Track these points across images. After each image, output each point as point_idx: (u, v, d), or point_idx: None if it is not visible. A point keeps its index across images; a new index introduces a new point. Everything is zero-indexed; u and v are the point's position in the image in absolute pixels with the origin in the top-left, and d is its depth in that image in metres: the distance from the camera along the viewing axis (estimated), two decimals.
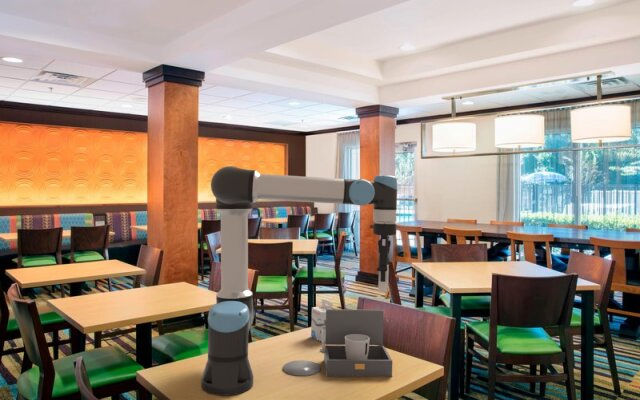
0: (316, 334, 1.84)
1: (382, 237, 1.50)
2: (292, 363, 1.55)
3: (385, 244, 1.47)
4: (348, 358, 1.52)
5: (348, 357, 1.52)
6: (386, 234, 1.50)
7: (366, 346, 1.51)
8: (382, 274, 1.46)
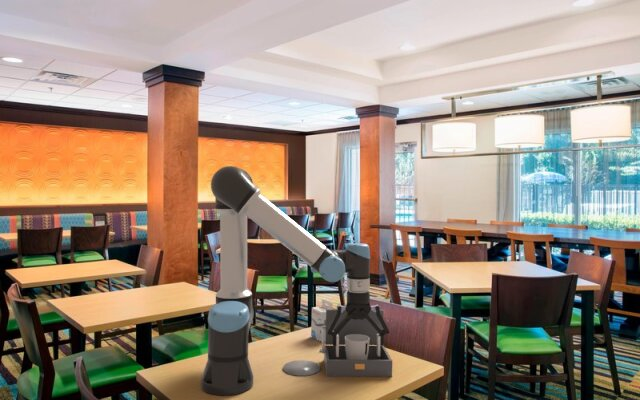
0: (316, 334, 1.84)
1: (346, 304, 1.54)
2: (292, 363, 1.55)
3: (337, 310, 1.53)
4: (348, 358, 1.52)
5: (348, 357, 1.52)
6: (347, 301, 1.53)
7: (366, 346, 1.51)
8: None
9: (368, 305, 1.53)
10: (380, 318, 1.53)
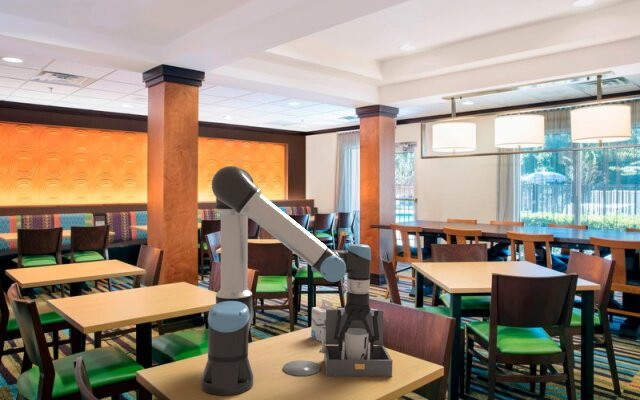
0: (316, 334, 1.84)
1: (346, 304, 1.54)
2: (292, 363, 1.55)
3: (337, 314, 1.53)
4: (347, 352, 1.52)
5: (347, 351, 1.52)
6: (346, 302, 1.53)
7: (365, 340, 1.51)
8: None
9: (367, 306, 1.53)
10: (375, 323, 1.53)
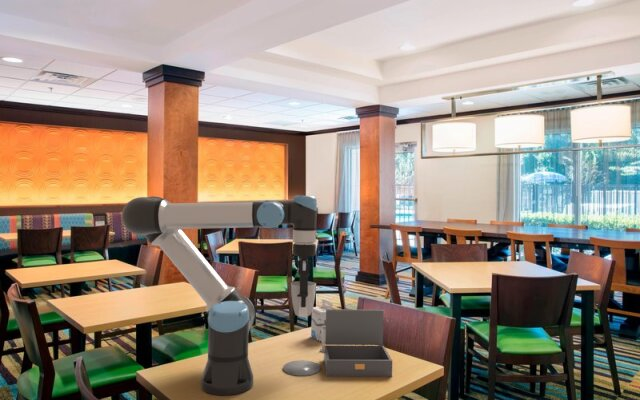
0: (316, 334, 1.84)
1: (302, 258, 1.48)
2: (292, 363, 1.55)
3: (305, 269, 1.46)
4: (308, 305, 1.49)
5: (309, 303, 1.49)
6: (306, 255, 1.48)
7: None
8: (303, 300, 1.47)
9: None
10: None
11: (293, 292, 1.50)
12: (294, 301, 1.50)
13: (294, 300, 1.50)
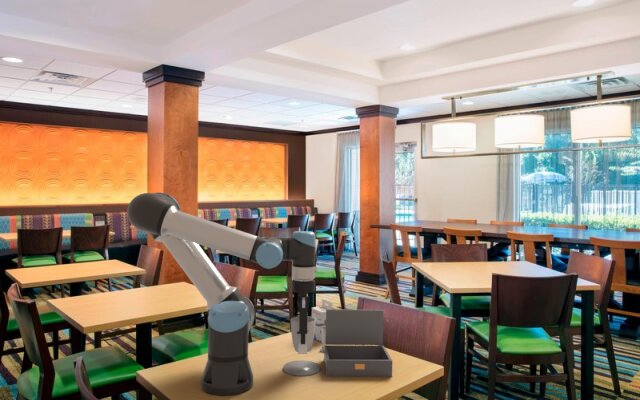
0: (316, 334, 1.84)
1: (301, 295, 1.48)
2: (292, 363, 1.55)
3: (305, 307, 1.46)
4: (308, 341, 1.50)
5: (308, 340, 1.49)
6: (305, 292, 1.49)
7: None
8: (302, 337, 1.47)
9: None
10: None
11: (293, 328, 1.50)
12: (294, 337, 1.50)
13: (294, 336, 1.50)
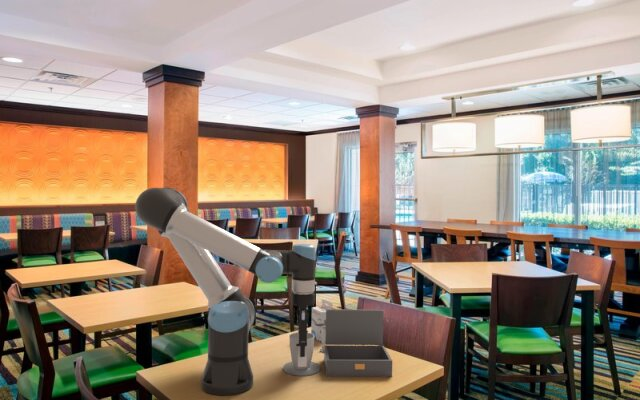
0: (316, 334, 1.84)
1: (301, 308, 1.48)
2: (292, 363, 1.55)
3: (304, 318, 1.46)
4: (307, 358, 1.50)
5: (307, 357, 1.50)
6: (305, 305, 1.49)
7: None
8: (302, 349, 1.45)
9: None
10: None
11: (291, 345, 1.50)
12: (293, 354, 1.50)
13: (293, 353, 1.50)
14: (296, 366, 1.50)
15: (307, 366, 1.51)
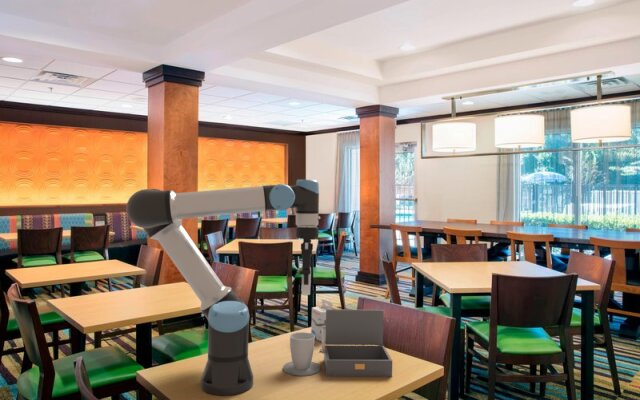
0: (316, 334, 1.84)
1: (305, 240, 1.52)
2: (292, 363, 1.55)
3: (308, 247, 1.49)
4: (307, 358, 1.50)
5: (307, 357, 1.50)
6: (309, 237, 1.52)
7: None
8: (305, 277, 1.47)
9: None
10: None
11: (292, 345, 1.50)
12: (293, 354, 1.50)
13: (293, 353, 1.50)
14: (296, 366, 1.50)
15: (307, 366, 1.51)
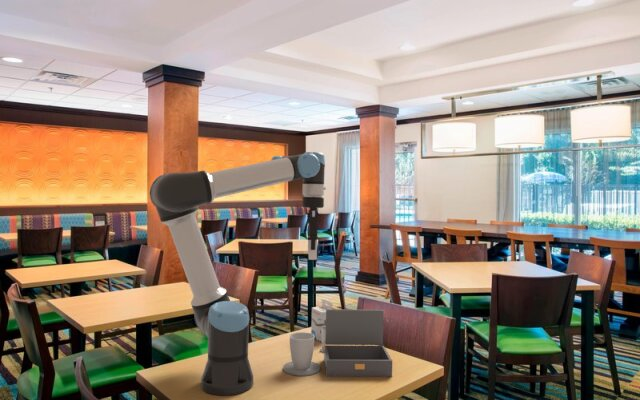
0: (316, 334, 1.84)
1: (311, 209, 1.61)
2: (292, 363, 1.55)
3: (315, 215, 1.58)
4: (307, 358, 1.50)
5: (307, 357, 1.50)
6: (315, 206, 1.61)
7: None
8: (312, 243, 1.57)
9: None
10: None
11: (291, 345, 1.50)
12: (293, 354, 1.50)
13: (293, 353, 1.50)
14: (296, 366, 1.51)
15: (307, 366, 1.51)
